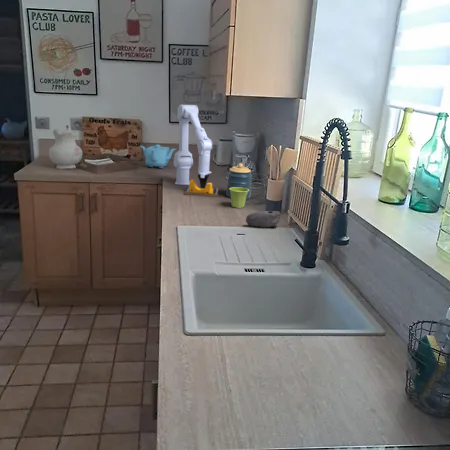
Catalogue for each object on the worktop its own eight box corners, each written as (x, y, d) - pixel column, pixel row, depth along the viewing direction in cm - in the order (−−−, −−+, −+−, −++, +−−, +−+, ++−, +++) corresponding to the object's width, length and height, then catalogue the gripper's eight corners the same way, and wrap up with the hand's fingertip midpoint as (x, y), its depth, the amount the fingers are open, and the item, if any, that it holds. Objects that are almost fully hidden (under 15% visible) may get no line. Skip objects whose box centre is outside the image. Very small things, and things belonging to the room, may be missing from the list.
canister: (231, 200, 237) (233, 165, 231) (222, 193, 248) (224, 161, 243) (254, 199, 241) (257, 165, 236) (244, 193, 253) (247, 160, 248)
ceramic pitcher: (51, 165, 296) (46, 125, 287) (83, 163, 301) (79, 123, 293) (50, 172, 276) (44, 129, 268) (84, 169, 282) (79, 128, 273)
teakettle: (162, 163, 319) (162, 142, 314) (177, 168, 305) (177, 146, 300) (137, 165, 308) (137, 143, 303) (151, 170, 294) (151, 147, 289)
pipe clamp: (213, 194, 245) (213, 182, 243) (209, 196, 242) (210, 184, 240) (192, 191, 250) (193, 179, 248) (189, 192, 246) (189, 180, 244)
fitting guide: (188, 188, 256) (188, 185, 255) (219, 190, 255) (219, 187, 255) (185, 194, 241) (185, 192, 240) (217, 197, 241) (218, 194, 240)
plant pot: (225, 204, 228) (226, 187, 226) (243, 203, 232) (244, 186, 229) (232, 209, 220) (233, 191, 217) (250, 208, 223) (252, 191, 221)
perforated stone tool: (245, 228, 195) (247, 212, 193) (244, 224, 200) (245, 208, 198) (281, 229, 196) (282, 213, 194) (278, 225, 201) (280, 210, 199)
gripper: (211, 166, 235) (209, 192, 240) (212, 160, 249) (211, 185, 254) (197, 165, 236) (195, 191, 240) (199, 160, 249) (198, 184, 254)
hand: (202, 188), depth 247 cm, fingers closed, pressing on pipe clamp
